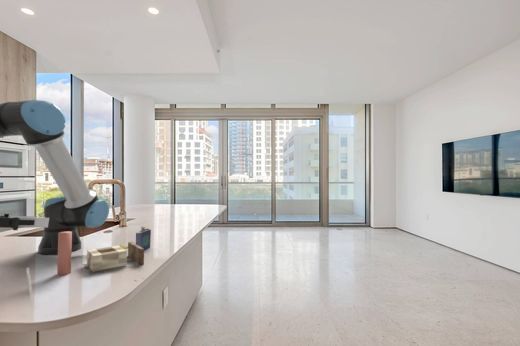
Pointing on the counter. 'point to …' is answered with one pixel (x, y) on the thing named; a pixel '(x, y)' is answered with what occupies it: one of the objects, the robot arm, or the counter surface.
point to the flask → (143, 238)
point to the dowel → (64, 253)
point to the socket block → (106, 258)
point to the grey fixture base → (132, 259)
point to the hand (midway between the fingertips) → (42, 221)
